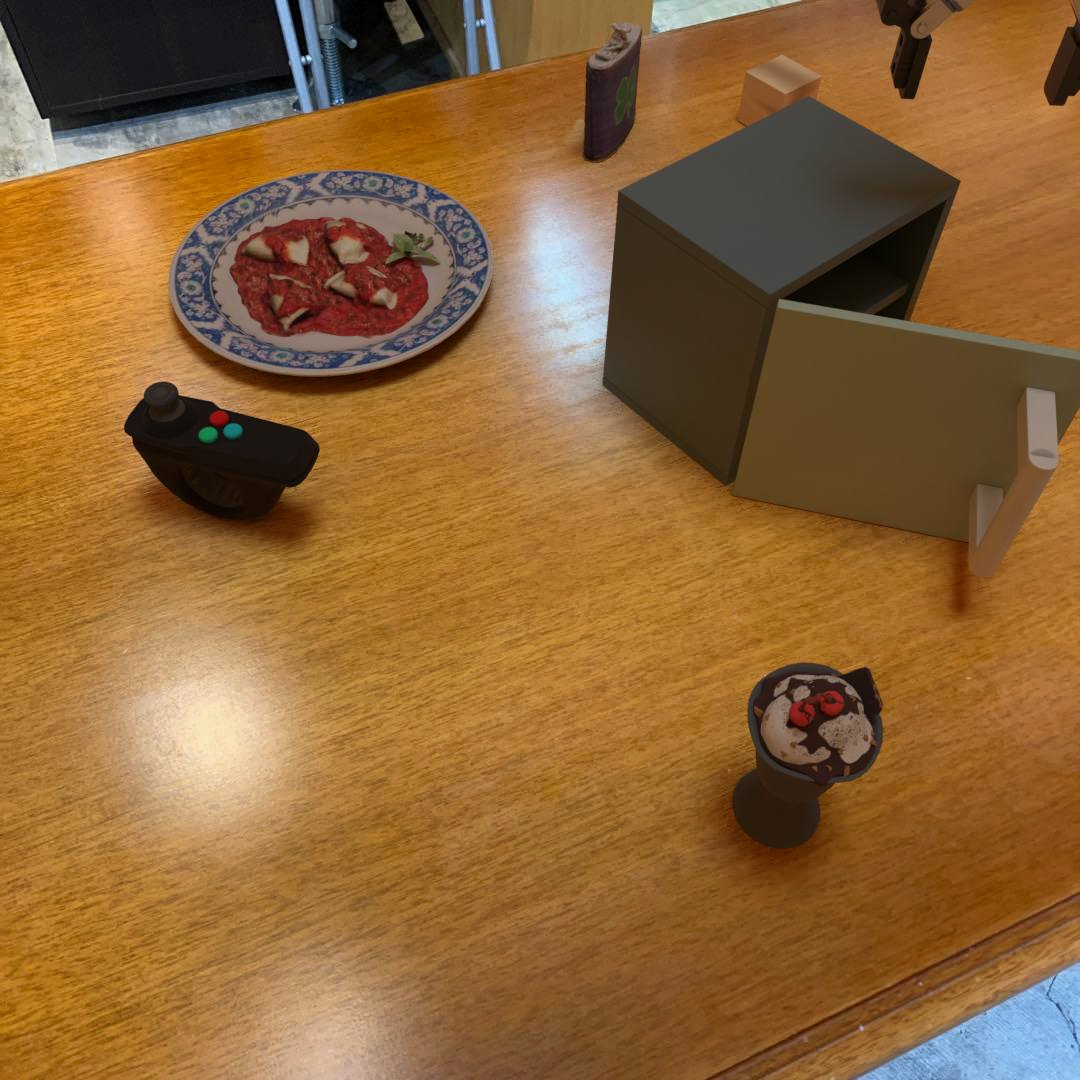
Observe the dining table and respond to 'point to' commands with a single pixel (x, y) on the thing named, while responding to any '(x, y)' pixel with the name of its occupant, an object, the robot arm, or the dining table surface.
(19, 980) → the dining table surface
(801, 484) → the door
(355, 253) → the ceramic plate
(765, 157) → the cupboard
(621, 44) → the flask
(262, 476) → the controller
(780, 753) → the sundae
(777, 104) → the block
